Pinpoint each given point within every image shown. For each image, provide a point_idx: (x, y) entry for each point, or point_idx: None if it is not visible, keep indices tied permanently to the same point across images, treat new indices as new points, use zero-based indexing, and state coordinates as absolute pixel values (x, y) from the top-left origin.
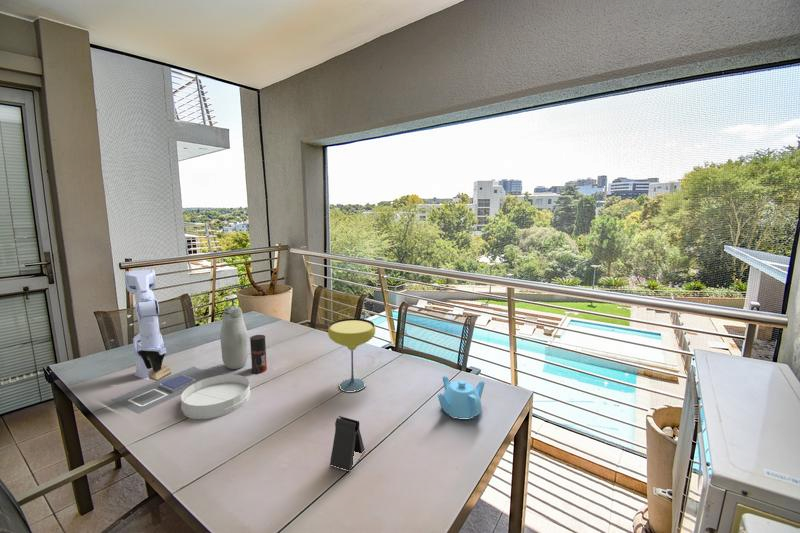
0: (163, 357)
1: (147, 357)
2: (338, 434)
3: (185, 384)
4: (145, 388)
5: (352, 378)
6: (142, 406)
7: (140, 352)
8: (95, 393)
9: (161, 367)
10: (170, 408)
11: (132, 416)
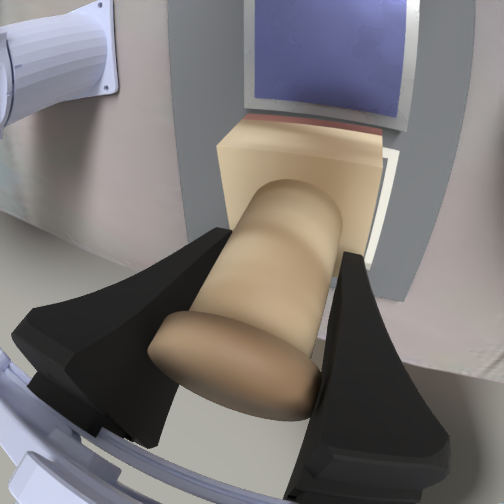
0: (405, 374)
1: (214, 401)
2: None
3: (416, 45)
4: (203, 144)
5: None
6: (370, 264)
7: (139, 443)
8: (99, 229)
9: (337, 233)
10: (493, 235)
11: (385, 305)
